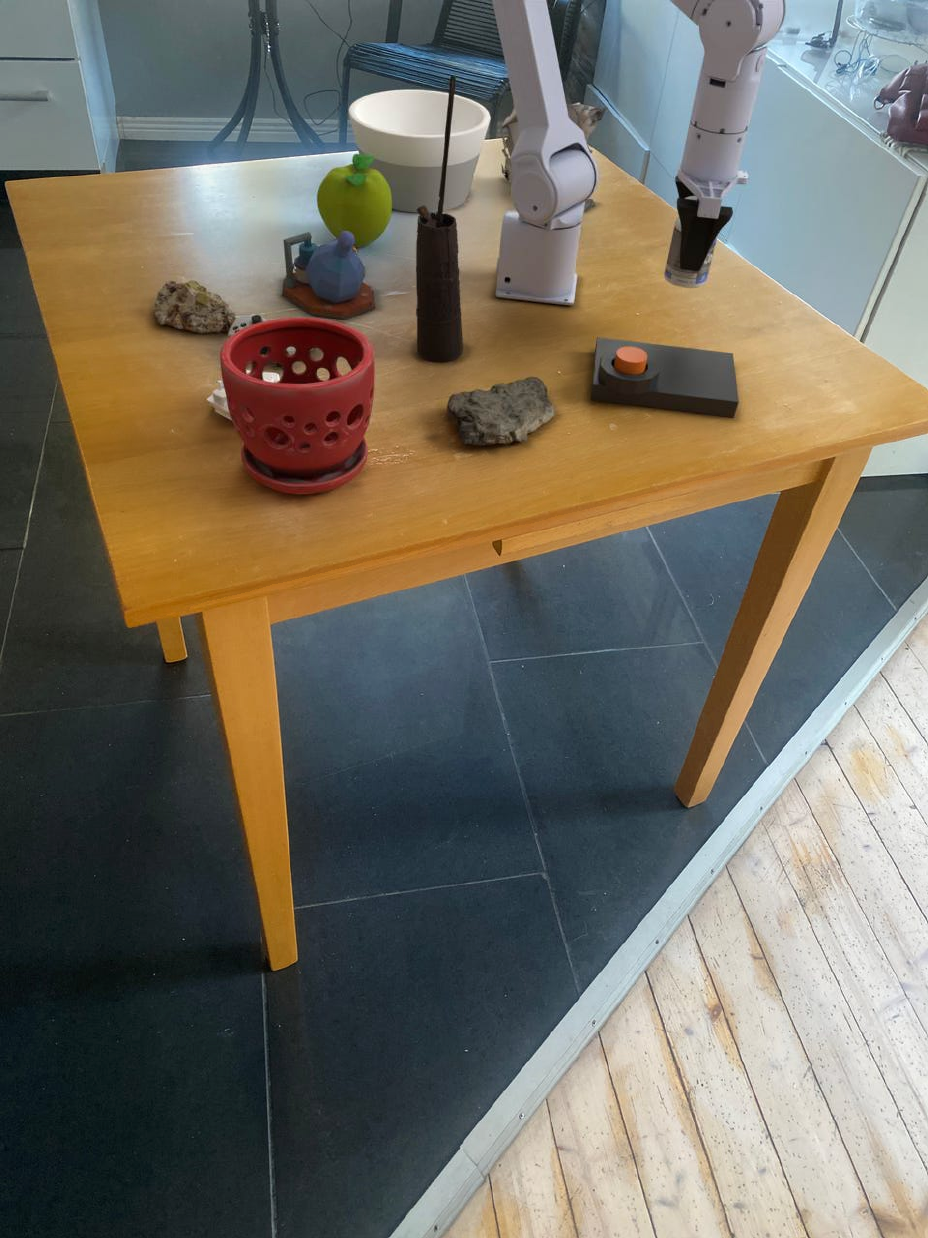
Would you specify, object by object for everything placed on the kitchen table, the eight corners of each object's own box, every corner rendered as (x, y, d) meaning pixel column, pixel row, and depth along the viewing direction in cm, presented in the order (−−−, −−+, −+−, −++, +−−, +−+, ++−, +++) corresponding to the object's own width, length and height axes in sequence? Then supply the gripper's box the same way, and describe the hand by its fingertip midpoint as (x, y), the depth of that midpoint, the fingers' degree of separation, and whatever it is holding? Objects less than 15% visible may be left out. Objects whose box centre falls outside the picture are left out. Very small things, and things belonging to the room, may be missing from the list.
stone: (529, 385, 101) (532, 361, 99) (578, 426, 96) (582, 402, 94) (416, 422, 95) (416, 397, 93) (461, 468, 90) (463, 443, 88)
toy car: (202, 414, 94) (195, 377, 91) (261, 381, 99) (257, 345, 96) (235, 432, 92) (230, 395, 89) (294, 399, 97) (291, 362, 94)
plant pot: (402, 477, 88) (403, 362, 80) (275, 524, 83) (262, 405, 74) (332, 409, 96) (326, 297, 87) (211, 449, 90) (192, 333, 81)
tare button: (613, 373, 97) (615, 360, 96) (614, 358, 100) (616, 344, 99) (644, 377, 97) (647, 364, 96) (644, 361, 99) (647, 348, 98)
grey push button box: (589, 405, 99) (594, 375, 96) (594, 352, 106) (599, 323, 104) (734, 423, 98) (743, 393, 95) (728, 368, 106) (736, 339, 103)
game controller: (325, 335, 104) (305, 316, 98) (312, 383, 104) (292, 367, 98) (246, 317, 106) (222, 298, 100) (233, 364, 106) (209, 347, 100)
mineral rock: (128, 297, 105) (179, 255, 108) (143, 327, 109) (191, 286, 112) (197, 332, 101) (248, 288, 104) (210, 362, 105) (258, 319, 108)
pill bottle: (706, 291, 103) (725, 213, 97) (662, 285, 103) (678, 208, 97) (706, 272, 106) (725, 196, 100) (664, 267, 107) (680, 190, 101)
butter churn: (378, 332, 107) (374, 53, 87) (457, 321, 110) (471, 48, 90) (404, 373, 101) (406, 84, 81) (487, 360, 104) (508, 77, 84)
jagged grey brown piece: (598, 203, 136) (613, 104, 127) (583, 212, 134) (597, 111, 125) (511, 175, 142) (520, 78, 133) (495, 183, 140) (502, 85, 130)
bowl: (334, 173, 139) (330, 93, 131) (456, 162, 145) (459, 84, 137) (375, 227, 127) (374, 142, 119) (506, 212, 132) (513, 130, 125)
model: (390, 303, 112) (390, 224, 105) (327, 326, 107) (323, 246, 101) (329, 265, 118) (325, 189, 111) (266, 286, 113) (259, 208, 107)
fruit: (398, 231, 126) (398, 152, 119) (381, 261, 120) (380, 179, 112) (331, 222, 127) (328, 143, 120) (311, 252, 120) (306, 170, 113)
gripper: (766, 154, 88) (730, 292, 98) (754, 104, 98) (722, 234, 108) (690, 146, 89) (661, 285, 98) (685, 97, 99) (660, 227, 108)
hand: (688, 258), depth 103 cm, fingers closed on pill bottle, 5 cm apart
